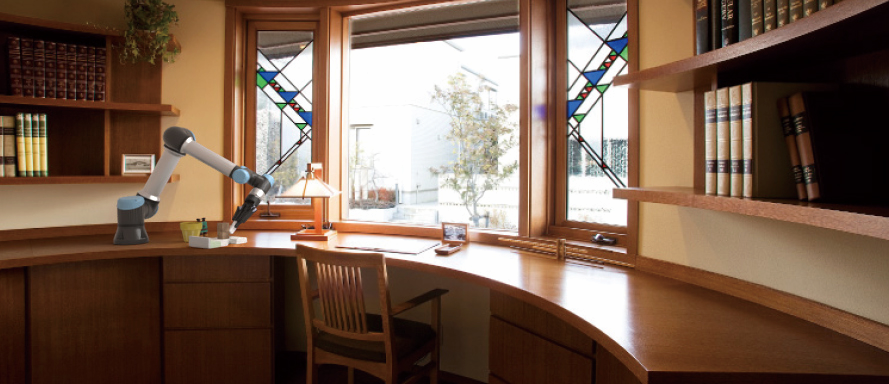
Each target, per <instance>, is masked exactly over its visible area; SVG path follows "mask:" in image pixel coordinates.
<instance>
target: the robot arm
mask: <svg viewBox="0 0 889 384" xmlns="http://www.w3.org/2000/svg"><path fill="white" fill-rule="evenodd" d="M162 141H163V143H164V144H163V145H162V147H163V149H164V150H163V152H162V153H161V155H160V158H159V159H158V161H157V163H156V165H155V167H154V168H153V170H152V172H151V174H150V176H149V177H148V179H147V181H146V183H145V185H144V187H142V189H140V190H138V191H137V192H136V194H135V195H127V196H122V197H119V198H118V199H117V200H116V217H117V218H116V219H117V220H116V222H117V229H116V231H115V234H114V237H113V244H114V245H117V246H118V245H123V246H125V245H139V244H146V243H149V242H150V238H149V237H150V236H148V235H149V234H148V233H147V229H146V228H145V220H148V219H151V218H152V217H154V216H155V215H156V214H157V213H158V211H159V209H160V208H159V207H160V205H159V204H160V202H161V197H160V196H161V195H162V193H163V191H164V189H165V187H166V186H167V183H168V182H169V180H170V178H171V176H172V174H173V173H174V171H175V169H176V167H177V165H178V164H179V162H180V160H181V158H183V157H186V156H187V155H188V156H190V157H192V158H193V159H196V160H197V161H200V162H201V163H203V164H204V165H207V166H208V167H210V168H212V169H214V170H215V171H216V172H219V173H220V174H222V175H225V176H227V177H228V178H229V179H231V180H232V181H234V183H236V184H239V185H244V184H247V185H249V186H251V187H252V189H251V190H250V191H249V193H248V194H247V195H246V197H245V199H244V203H242V204H241V206H239V205H237V206H236V210H235V212H234V213H233V216H232V218H231V221H232V223H231V224H230V225H229V235H233V234H234V233H235V231H236V230H237V228H239V226H240V225H241V224H245V223H246V222H247V221H248V220H249V219H250V218H251V217H252V216H253V215H254V214H255V213H256V212H258V209H257V208H258V206H259V205H260V204H261V202H262V201H263V199H264V198H265V197H266V195H267V194H268V193H269V191H270V190H271V189H272V187H273V185H274V184H275V178H274V177H273V176H272V175H271V174H267V173H263V174H262V175H261V174H259V173H257V172H255V171H253V170H252V169H250V168H249V167H247V166H244V165H240V166H239V165H238V164H236V163H234V162H233V161H230V160H229V159H227V158H225V157H223V156H221V155H219V153H217V152H215V151H213V150H211V149H210V148H207V147H206V146H204V145H202V144H201V143H198V141H197V139H196V135H195V133H194V132H193V131H191V130H190V129H188V128H186V127H181V126H178V125H173V126H169V127H168V128H166V129H165V130H164V131H163V134H162Z"/></svg>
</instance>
